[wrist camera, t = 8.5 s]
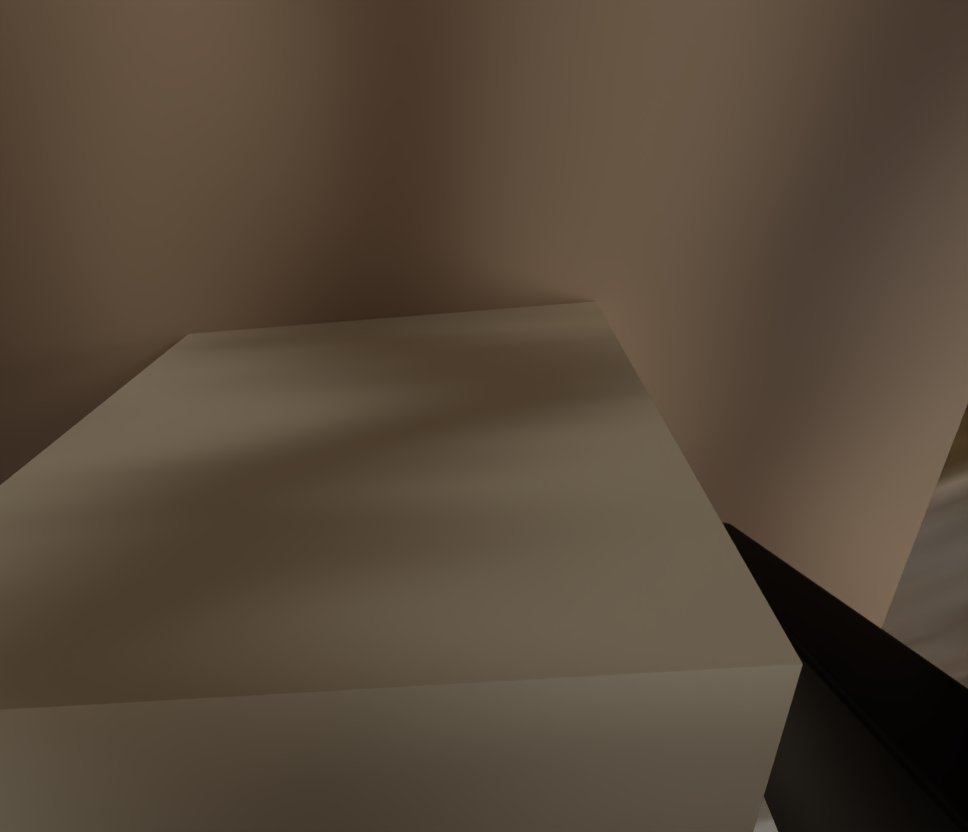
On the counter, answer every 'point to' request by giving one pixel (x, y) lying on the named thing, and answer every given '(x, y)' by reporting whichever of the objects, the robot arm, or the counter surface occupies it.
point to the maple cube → (382, 595)
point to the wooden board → (522, 216)
